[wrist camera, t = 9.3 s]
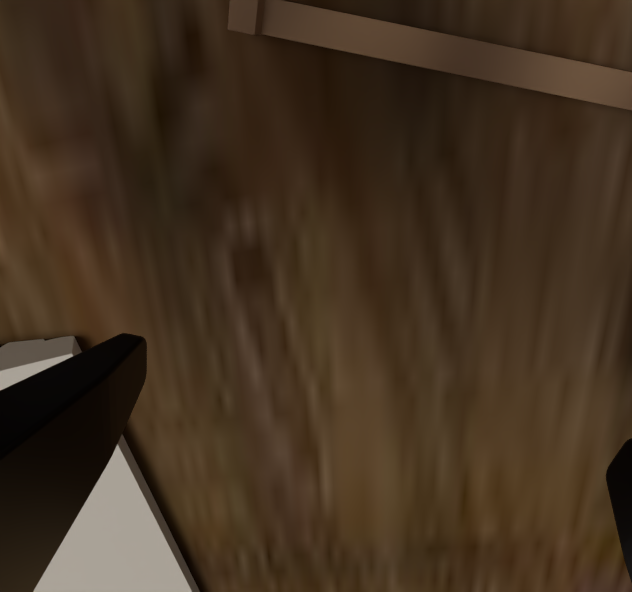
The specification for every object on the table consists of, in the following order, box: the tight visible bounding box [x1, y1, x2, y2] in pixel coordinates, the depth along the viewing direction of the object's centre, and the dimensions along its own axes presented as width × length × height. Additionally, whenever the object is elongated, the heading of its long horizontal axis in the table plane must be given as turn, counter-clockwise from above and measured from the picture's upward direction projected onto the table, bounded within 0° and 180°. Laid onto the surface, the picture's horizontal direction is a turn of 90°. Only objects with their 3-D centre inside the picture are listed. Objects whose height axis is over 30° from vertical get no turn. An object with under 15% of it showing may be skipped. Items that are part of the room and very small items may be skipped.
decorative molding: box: [0, 336, 200, 592], centre depth 33 cm, size 34×5×10 cm
